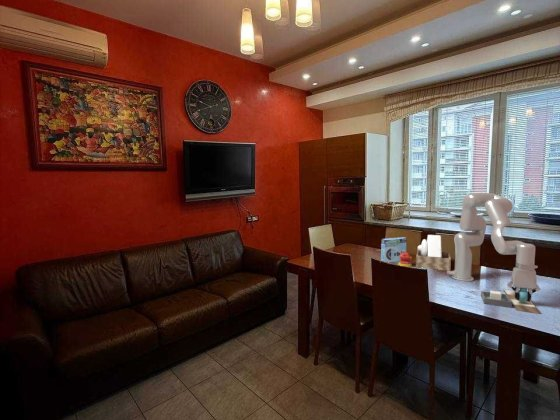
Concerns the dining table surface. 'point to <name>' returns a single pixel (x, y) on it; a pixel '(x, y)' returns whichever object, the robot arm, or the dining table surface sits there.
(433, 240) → the butter dish
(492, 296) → the die
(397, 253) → the gum box
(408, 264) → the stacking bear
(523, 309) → the board
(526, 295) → the pawn
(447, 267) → the dish corral
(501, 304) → the tray
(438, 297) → the dining table surface
